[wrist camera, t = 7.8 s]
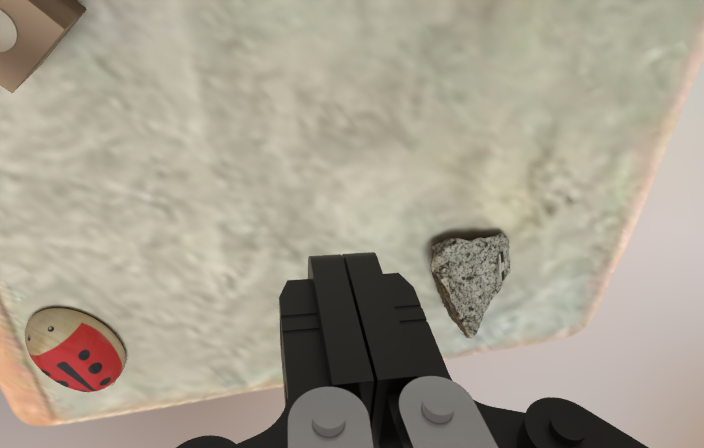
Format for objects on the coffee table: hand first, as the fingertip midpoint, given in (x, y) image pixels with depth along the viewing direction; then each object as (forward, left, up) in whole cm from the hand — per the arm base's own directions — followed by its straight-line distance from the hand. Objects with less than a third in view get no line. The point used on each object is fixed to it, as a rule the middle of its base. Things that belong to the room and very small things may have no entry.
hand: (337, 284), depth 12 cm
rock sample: (-17, +22, -27) cm, 39 cm away
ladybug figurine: (+18, +28, -28) cm, 43 cm away
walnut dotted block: (+15, 0, -27) cm, 31 cm away
